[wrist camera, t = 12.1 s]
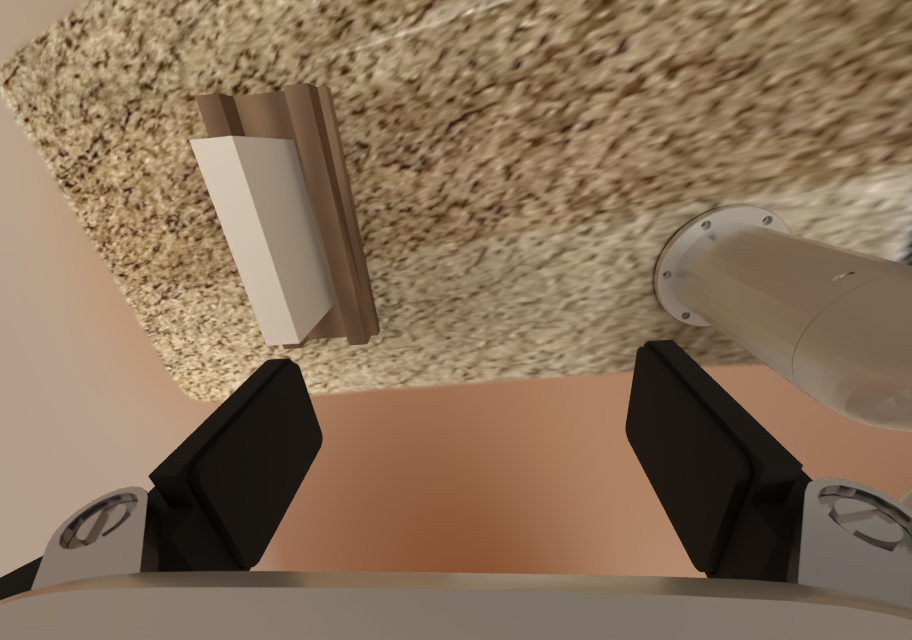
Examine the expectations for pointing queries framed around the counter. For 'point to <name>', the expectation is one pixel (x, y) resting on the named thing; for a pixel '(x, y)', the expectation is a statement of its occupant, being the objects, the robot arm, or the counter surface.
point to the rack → (311, 191)
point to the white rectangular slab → (269, 231)
